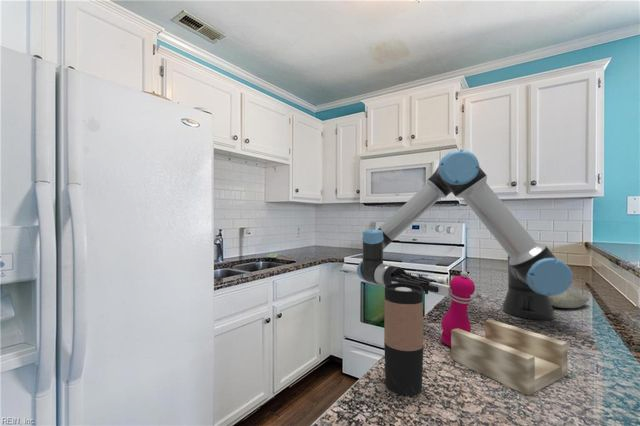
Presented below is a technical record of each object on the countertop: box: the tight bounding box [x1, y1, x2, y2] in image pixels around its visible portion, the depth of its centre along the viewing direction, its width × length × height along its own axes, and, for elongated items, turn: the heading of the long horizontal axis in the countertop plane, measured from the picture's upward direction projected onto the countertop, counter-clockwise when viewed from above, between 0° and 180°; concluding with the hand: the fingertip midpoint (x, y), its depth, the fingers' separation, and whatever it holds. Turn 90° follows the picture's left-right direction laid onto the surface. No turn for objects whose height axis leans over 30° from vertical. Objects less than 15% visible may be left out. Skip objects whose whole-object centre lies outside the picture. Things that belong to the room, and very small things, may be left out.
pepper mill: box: [440, 270, 476, 348], centre depth 80 cm, size 7×7×20 cm
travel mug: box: [383, 283, 424, 397], centre depth 61 cm, size 8×8×20 cm
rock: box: [548, 288, 590, 309], centre depth 117 cm, size 8×11×20 cm
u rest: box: [450, 318, 569, 397], centre depth 69 cm, size 17×16×7 cm
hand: (450, 291), depth 82 cm, fingers closed
